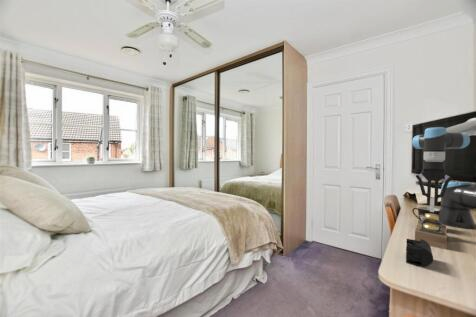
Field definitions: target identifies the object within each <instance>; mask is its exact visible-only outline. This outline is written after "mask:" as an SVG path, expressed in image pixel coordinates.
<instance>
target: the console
mask: <svg viewBox="0 0 476 317" xmlns="http://www.w3.org/2000/svg"><path fill="white" fill-rule="evenodd" d="M423 224H434V225H437V226H439V232H436V231H431V230H425V229H423ZM447 235H448V233H447V225H445V224H442V223H440V222H434V221H428V220H422V221H419V219H418V221H417V224H416V227H415V231H414V240H416V241H420V239H422V240H425V241H426V242H427V243H428V244H429V245H430V247H434V248H438V249H439V248H440V249H444V250H447V246H448V245H447V244H448V242H447V240H448V236H447Z"/></svg>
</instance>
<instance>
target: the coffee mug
mask: <svg viewBox="0 0 476 317" xmlns="http://www.w3.org/2000/svg"><path fill="white" fill-rule="evenodd" d="M415 210H417V212H418V213H417V214H418V215H417V214H416V213H415V212H414V211H415ZM439 211H440V209H438V208H436V207H434V212H430V206H417V207H413V208H412V213H413V215H414V216H415V217H416V218H417V219H418V220H419V221H422V220H426V219H425V213H430V214H436V215H439ZM428 221H429V220H428ZM434 222H435V221H434Z"/></svg>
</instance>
